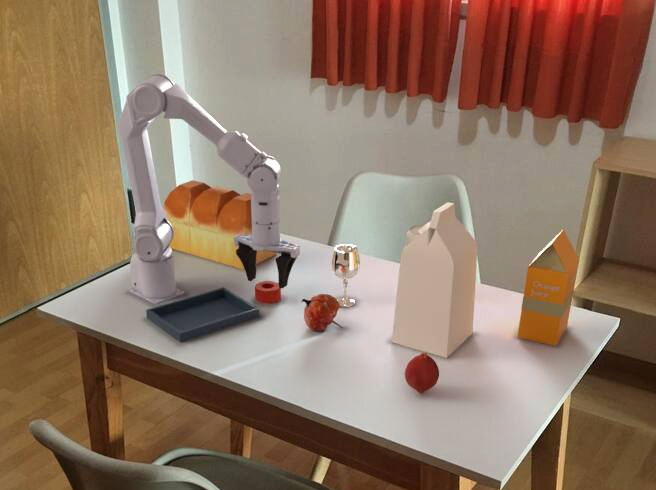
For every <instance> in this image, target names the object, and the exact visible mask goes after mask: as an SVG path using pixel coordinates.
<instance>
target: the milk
mask: <svg viewBox="0 0 656 490" xmlns="http://www.w3.org/2000/svg"><path fill="white" fill-rule="evenodd" d="M455 206H456V205H455V203H454V202H448V201H447V202H445V203H444V204H442V205H441V206H439V207H438V208H436V209H435V210H433V212H432V215H431V219H430V221H428V222H427V223H425V224H423V225H424V226H423V227H422V228H420V229H419V230H418V231H419V233H420V235H419V236H418V237H417V238H415V239H414V240H413V241H411V242H410V243H409V244H408V245H407V246H406V245H405V246H404V248H403V249H402V251H401V255H400V261H399V272H398V279H397V280H398V281H397V290H396V299H395V309H394V317H393V326H392V335H391V343H393V344H397V345H400V346H403V347H407V348H410V349H414V350H418V351H421V352H426V353H427V354H432V355H435V356H438V357H441V358H446V359H447V358H448V357H449V356H450V355H451V354H452V353H453V352H455V351H456V350H457V348H459V347H460V346H461V345H462V344H463V343H464V342H466V340H467V339H468V338H469V337H470V336H472V335H473V331H474V315H475V314H474V313H475V297H476V282H477V281H476V279H477V265H478V264H477V262H478V244H477V242H476V239H475V238H474V236H473V235H471V233H470V232H469V231H468V230H467V228H466V227H465V226H464V225H463V223H461V221H460V220H459V219H458V218H457V217H456V208H455Z"/></svg>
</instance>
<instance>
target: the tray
mask: <svg viewBox="0 0 656 490" xmlns="http://www.w3.org/2000/svg"><path fill="white" fill-rule="evenodd" d="M145 314H146V319H147V320H149V321H150V322H151V323H153V324H154V325H156V326H157V327H158V328H160V329H161V330H162V331H164V332H165V333H166V334H168V335H169V336H171V338H173V339H175V340H176V341H178V342H179V343H183V342H186V341H189V340H190V341H191V340H192V339H196V338H199V337H202V336H205V335H208V334H212V333H214V332H217V331H221V330H224V329H227V328H230V327H233V326H237V325H240V324H242V323H246V322H249V321H251V320H255V319H258V318H260V315H261V313H260V308H259V307H257V306H256V305H254V304H252V303H250V302H249V301H248V300H245V299H244V298H242V297H241V296H239V295H238V294H236V293H234V292H232V291H231V290H229V289H227V288H225V287H224V286H223V287H219V288H216V289H212V290H209V291H206V292H202V293H199V294H195V295H192V296H188V297H185V298H182V299H178V300H174V301H170V302H168V303H165V304H161V305H157V306H154V307H151V308H146V309H145Z"/></svg>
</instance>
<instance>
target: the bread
mask: <svg viewBox="0 0 656 490" xmlns="http://www.w3.org/2000/svg"><path fill="white" fill-rule="evenodd" d="M251 197H252V194H251V193H249V192H245V193H242V194H240V193H239V192H237V191H235V190H234V189H230V188H225V187H221V186H210V185H208V184H207V183H205V182H202V181H198V180H194V179H192V180H190V181H187V182H183V183H180V184H178V185H177V186H176V187H175V188H173V189H172V190H171V191H170V192H169V194H168V195H167V197H166V199H165V200H164V203H163V209H164V210H165V212H166V215H167V219H168V221H169V222H170V224H171V225H172V227H173V230H174V237H173V240H172V241H171V242H170V243H169V244H170V247H171V249H172V250H176V251H179V252H183V253H185V254H189V255H193V256H196V257H200V258H203V259H207V260H211V261H213V262H217V263H220V264H223V265H227V266H230V267H234V268H236V269H237V268H238V269H240V270H244V271H245V269H244V266H243V264H242V262H241V260H240V259H239V257H238V256H237V254H236V250H237V249H238V247H239V246H235V245H234V236H236V235H238V234H243V235H252V216H251ZM276 255H277V253H275V252H271V251H266V250H262V251H257V256H256V265H258V264H260V263H262V262H263V261H266V260H269V259H270V258H272V257H274V256H276Z"/></svg>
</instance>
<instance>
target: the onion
mask: <svg viewBox="0 0 656 490" xmlns="http://www.w3.org/2000/svg"><path fill="white" fill-rule="evenodd" d="M404 378H405V381H406V383H407V385H408V386H409V387H410V388H411V389H413V390H414V391H416V393H418V394H424V393H425V392H427V391H429V390H431V389H432V388H434V387H435V386H436V385H437V384H438V382H439V378H440V369H439V366H438V364H437V362H436V361H435V360H434V358H432V356H430V355H428V352H424V351H421V353H420V354H417V355H416V356H414V357H413V358H412V359H410V361H408V363H407V364H406V367H405V370H404Z"/></svg>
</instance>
